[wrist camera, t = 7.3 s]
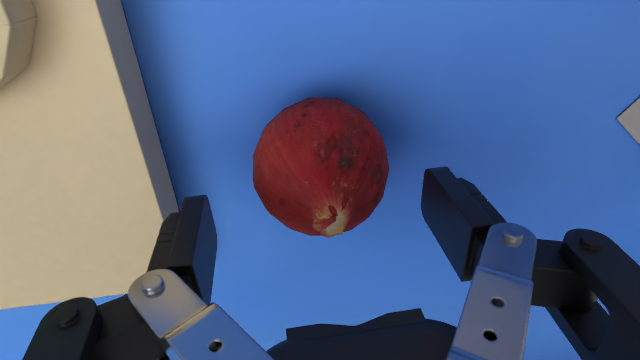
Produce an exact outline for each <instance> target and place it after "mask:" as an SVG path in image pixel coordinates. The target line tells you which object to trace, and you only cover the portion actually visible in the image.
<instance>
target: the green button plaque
mask: <svg viewBox="0 0 640 360" xmlns="http://www.w3.org/2000/svg"><path fill="white" fill-rule="evenodd" d="M176 212H179V209H178V205H177V201H176V198H175V194H174V191H173V187H172V183H171V180H170V176H169V173H168V169H167V166H166V162H165V158H164V155H163V151H162V148H161V144H160V140H159V137H158V133H157V130H156V126H155V122H154V119H153V115H152V112H151V108H150V104H149V101H148V97H147V94H146V90H145V86H144V83H143V79H142V76H141V72H140V68H139V65H138V61H137V58H136V54H135V51H134V47H133V43H132V40H131V36H130V33H129V29H128V25H127V22H126V18H125V15H124V11H123V7H122V4H121V0H0V309H8V308H16V307H24V306H32V305H40V304H48V303H55V302H63V301H66V300H69V299H72V298H77V297H87V298H95V297H103V296H111V295H119V294H127V293H128V290H129V287H130V286H131V284H132V283H133V282H134V281H135V280H136V279H137V278H138V277H140V276H141V275H143V274H145V273H146V271H147V268H148V265H149V262H150V259H151V256H152V253H153V249H154V246H155V244H156V240H157V237H158V235H159V231H160V228H161V224H162V222H163V221H164V220H165V219H166V218H167V217H168V216H169V215H170V214H171V213H176Z"/></svg>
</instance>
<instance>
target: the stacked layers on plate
mask: <svg viewBox="0 0 640 360" xmlns="http://www.w3.org/2000/svg"><path fill="white" fill-rule="evenodd" d="M617 120H618V121H619V122H620V123H621V124H622V125H623V127H624V128H625V129H626V130H627V131H628V132H629V133H630V134H631V135H632V137H633V138H634V139H635V140H636V141H637V142H638V143H639V144H640V98H639V99H638V100H637V101H636V102H634V103H633V104H632V105H631V106H630V107H629V108H628V109H627V110H626V111H624V112H623V113H622V114H621V115H620V116H619V117H618V118H617Z"/></svg>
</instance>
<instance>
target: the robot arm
mask: <svg viewBox="0 0 640 360" xmlns="http://www.w3.org/2000/svg"><path fill="white" fill-rule="evenodd" d="M421 210H422V214H423V217H424V220H425V221H426V223H427V225H428V226H429V228H430V230H431V231H432V233H433V235H434V236H435V238H436V240H437V241H438V243H439V245H440V246H441V248H442V250H443V251H444V253H445V255H446V256H447V258H448V260H449V261H450V263H451V265H452V266H453V268H454V270H455V271H456V273H457V275H458V276H459V278H460V280H461V281H462V282H463V281H470V280H472V282H471V285H470V288H469V291H468V294H467V298H466V301H465V304H464V307H463V310H462V314H461V317H460V320H459V323H458V326H457V328H456V327H454V326H452V325H450V324H447V323H444V322H441V321H437V320H431V319H425V318H424V315H423V313H422V311H421V309H420V308H419V309H412V310H406V311H399V312H393V313H387V314H385V315H382V316H380V317H377V318H375V319H373V320H370V321H368V322H365V323H363V324H360V325H357V326H347V325H332V324H314V325H308V326H301V327H295V328H288V329H286V334H287V340H285V341H282V342H280V343H278V344H277V345H275V346H273V347H271V348H270V349H269V350H267V351H265V350H264V349H263V348H262V347H261V346H260V345H259V344H258V343H257V342H256V341H255V340H254V339H253V338H252V337H251V336H249V335H248V334H247V333H246V332H245V331H244V330H243V329H242V328H241V327H240V326H239V325H238V324H237V323H236V322H235V321H234V320H233V319H232V318H231V317H230V316H229V315H228V314H227V313H226V312H225V311H224V310H223V309H222V308H221V307H220V306H218V305H217V304H216V303H211V304H210V301H211V293H212V284H213V276H214V267H215V259H216V250H217V234H216V228H215V224H214V220H213V216H212V212H211V208H210V204H209V200H208V197H207V195H200V196H192V197H185V198H184V201H183V205H182V209H181V212H176V213H171V214H170V215H169V216H168V217H167V218H166V219H165V220H164V221H163V222H162V224H161V228H160V231H159V235H158V237H157V240H156V244H155V246H154V249H153V253H152V256H151V259H150V262H149V265H148V268H147V271H146V273H145V274H143V275H141V276H140V277H138V278H137V279H136V280H135V281H134V282H133V283H132V284H131V286H130V287H129V290H128V294H126V295H124V296H122V297H120V298H117V299H114V300H112V301H109V302H106V303H104V304H101V305H98V306H97V305H96V303H95V302H94V300H92V299H90V298H87V297H77V298H72V299H69V300H66V301H64V302H62V303H60V304H58V305H57V306H55V307H54V308H52V309H51V310H50V311H49V312H48V313H47V314H46V315H45V316H44V317H43V318H42V320H41V322H40V324H39V326H38V328H37V330H36V332H35V334H34V336H33V338H32V341H31V343H30V345H29V347H28V349H27V351H26V353H25V355H24V357H23V359H22V360H523V355H524V348H525V341H526V334H527V327H528V320H529V313H530V306H531V305H535V306H543V307H545V308H546V309H547V311H548V312H549V313H550V315H551V316H552V318H553V319H554V321H555V322H556V323H557V325H558V326H559V328H560V329H561V331H562V332H563V333H564V335H565V336H566V338H567V339H568V341H569V342H570V343H571V345H572V346H573V348H574V349H575V350H576V352H577V353H578V355H579V356H580V358H581V359H582V360H640V266H639V265H638V264H637V263H636V262H635V261H634V260H633V259H632V258H630V257H629V256H628V255H627V254H626V253H625V252H624V251H623V250H622V249H621V248H620V247H619V246H618V245H617V244H615V243H614V242H613V241H612V240H611V239H610V238H608V237H607V236H605V235H603V234H601V233H598V232H596V231H592V230H588V229H573V230H570V231H568V232H567V233H566V234H565V236H564V239H563V241H552V240H541V239H536V237H535V235H534V234H533V233H532V232H531V231H530V230H528V229H527V228H525V227H523V226H520V225H518V224H514V223H507V222H506V221H505V220H504V218H503V217H502V216H501V215H500V214H499V213H498V212H497V210H496V209H495V208H494V207H493V206H492V205H491V204H490V202H489V201H488V202H487V199H486V198H485V197H484V196H483V195H481V192H480V191H479V190H478V189H477V188H476V187H475V185H474V184H472V183H470V182H468V181H467V180H465V179H463V178H456V177H455V175H454V174H453V173H452V172H451V171H450V169H449V168H448V167H438V168H430V169H426V170H425V172H424V180H423V189H422V199H421ZM597 297H598V298H599V300H600V301H601V302H602V303H603V304H604V305H605V307H606V308H607V310H608V312H609V315H610V316H609V315H608V314H607V312H606V311H605V310H604V309H603V308H602V306H601V305H600V304H599V303H598V302H597V301H596V300H597Z"/></svg>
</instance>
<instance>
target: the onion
mask: <svg viewBox="0 0 640 360" xmlns="http://www.w3.org/2000/svg"><path fill="white" fill-rule="evenodd" d="M388 172H389V165H388V159H387V154H386V148H385V144H384V141H383V138H382V136H381V135H380V133H379V132H378V130H377V129H376V128H375V126H374V125H373V123H372V122H371V121H370V119H369V118H368V116H367V115H366V114H365V113H363V112H362V111H361V110H359V109H357V108H355V107H353V106H351V105H349V104H347V103H345V102H343V101H341V100H339V99H337V98H307V99H305V100H303V101H300V102H298V103H296V104H294V105H291V106H289V107H287V108H285V109H284V110H282V111H281V112H280V113H279V114H278V115H277V116H276V117H275V118H274V119H273V120H272V121H271V122H270V123H268V124H267V125H266V127H265V129H264V130H263V133H262V135H261V137H260V140H259V142H258V144H257V146H256V149H255V151H254V154H253V182H254V188H255V190H256V192H257V193H258V195H259V197H260V199H261V201H262V203H263V205H264V206H265V208H266V209H267V211H268V212H269V213H270V214H271V215H273V216H274V217H275V218H276V219H278V220H279V221H280V222H282V223H283V224H284V225H285V226H287V227H288V228H290V229H292V230H295V231H298V232H301V233H304V234H307V235H310V236H317V235H323V236H325V237H328V238H330V237H332V236H335V235H341V234H343V232H346V231H349V230H352V229H353V228H355V227H356V226H357V225H359V224H360V223H362V222H363V221H365V220H366V219H367V218H368V217H369V216H370V215H371V213H372V212H373V211H374V209H375V208H376V206H377V205H378V204H379V202H380V201H381V199H382V197H383V194H384V190H385V186H386V182H387V178H388Z"/></svg>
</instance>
